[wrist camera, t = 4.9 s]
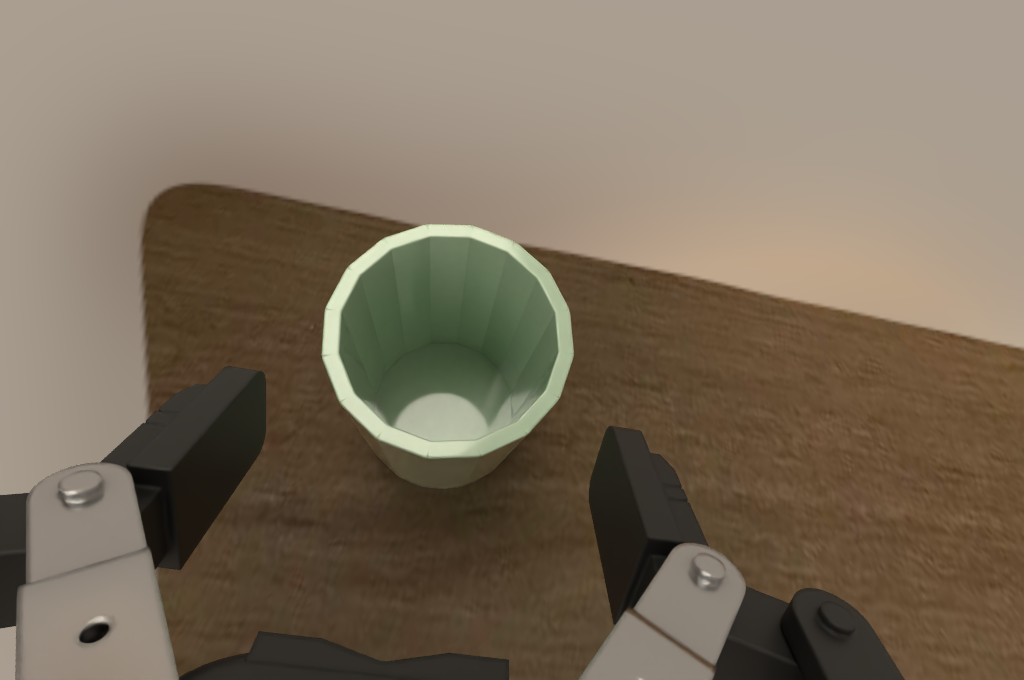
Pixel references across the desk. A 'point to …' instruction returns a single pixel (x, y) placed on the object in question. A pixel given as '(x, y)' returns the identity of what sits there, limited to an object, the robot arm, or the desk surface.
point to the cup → (446, 350)
